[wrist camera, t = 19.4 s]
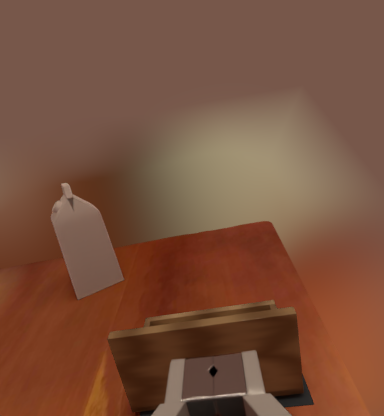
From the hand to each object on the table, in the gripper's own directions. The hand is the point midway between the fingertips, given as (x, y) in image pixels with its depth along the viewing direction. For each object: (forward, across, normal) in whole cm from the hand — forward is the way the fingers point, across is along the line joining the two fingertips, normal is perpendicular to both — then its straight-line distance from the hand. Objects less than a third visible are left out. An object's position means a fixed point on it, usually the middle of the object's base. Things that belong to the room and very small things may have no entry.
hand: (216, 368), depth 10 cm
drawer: (+26, +4, +27) cm, 38 cm away
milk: (+56, +34, +27) cm, 71 cm away
